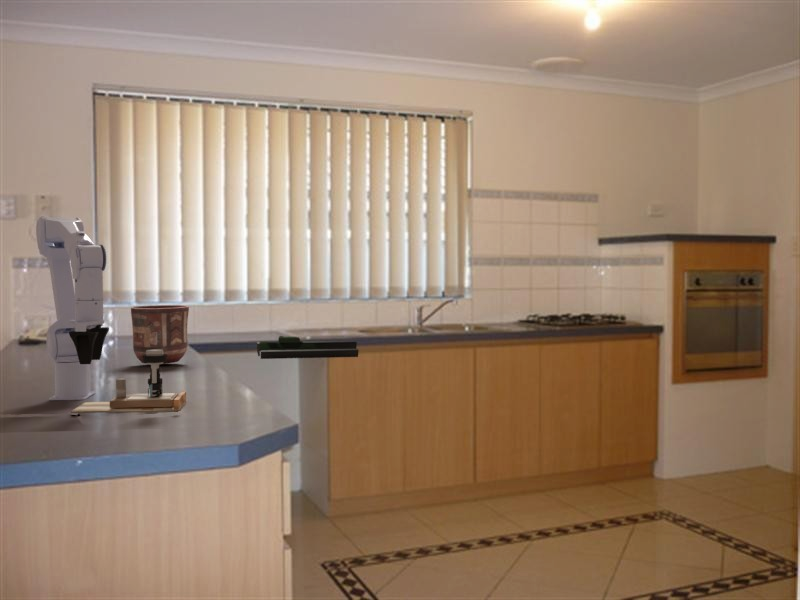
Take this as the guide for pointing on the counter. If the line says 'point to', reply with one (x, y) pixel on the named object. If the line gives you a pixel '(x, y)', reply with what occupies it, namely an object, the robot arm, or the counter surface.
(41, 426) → the counter surface
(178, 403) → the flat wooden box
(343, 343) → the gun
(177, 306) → the pottery
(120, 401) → the carriage
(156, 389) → the push button
